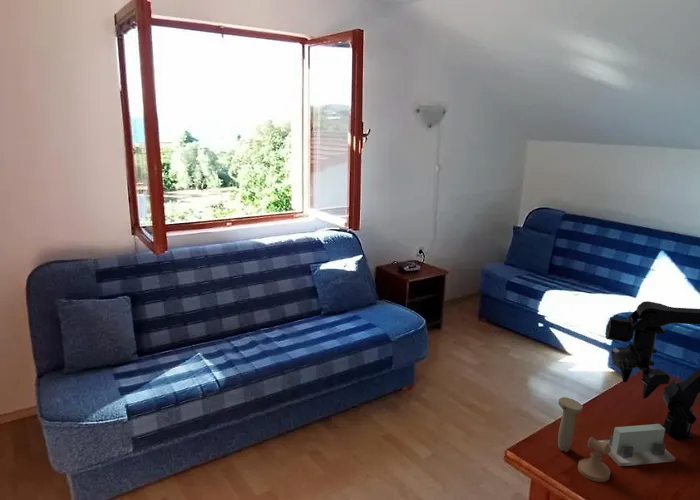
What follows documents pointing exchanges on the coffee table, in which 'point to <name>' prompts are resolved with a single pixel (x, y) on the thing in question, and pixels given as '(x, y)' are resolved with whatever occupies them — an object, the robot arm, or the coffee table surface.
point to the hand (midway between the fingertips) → (634, 389)
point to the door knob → (595, 462)
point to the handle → (567, 422)
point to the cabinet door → (637, 437)
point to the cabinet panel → (639, 455)
